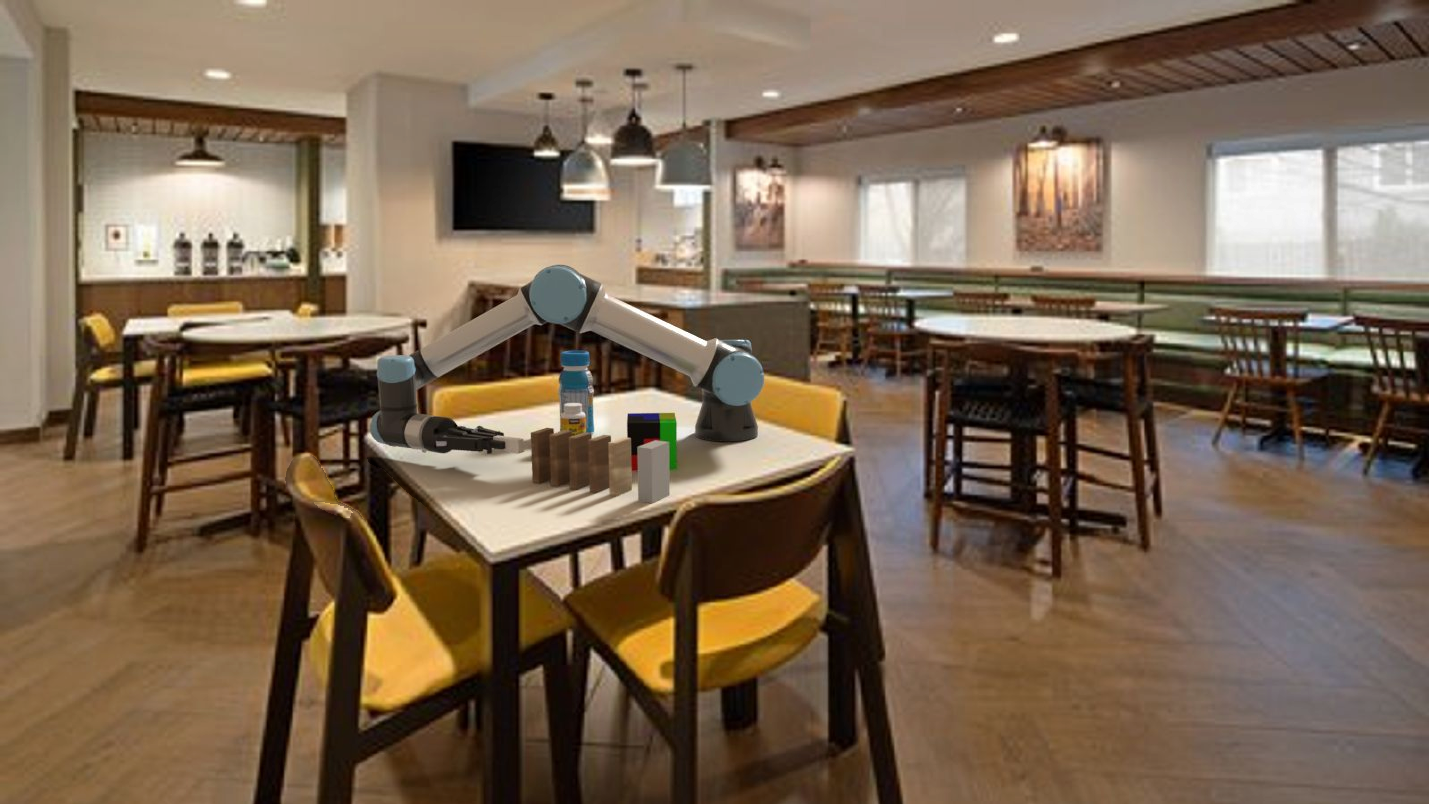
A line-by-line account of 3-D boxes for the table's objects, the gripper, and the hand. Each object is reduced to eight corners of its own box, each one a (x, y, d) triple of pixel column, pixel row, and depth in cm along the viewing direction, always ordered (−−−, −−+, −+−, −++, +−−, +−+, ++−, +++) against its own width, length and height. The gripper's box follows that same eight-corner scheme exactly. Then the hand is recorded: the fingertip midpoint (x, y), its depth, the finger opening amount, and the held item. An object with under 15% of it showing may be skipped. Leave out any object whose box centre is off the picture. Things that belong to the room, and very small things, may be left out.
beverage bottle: (570, 439, 206) (568, 355, 203) (553, 433, 213) (550, 351, 209) (601, 434, 212) (599, 352, 208) (583, 429, 218) (581, 349, 214)
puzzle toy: (628, 459, 189) (627, 413, 187) (674, 458, 190) (674, 412, 188) (627, 471, 179) (627, 423, 177) (676, 470, 180) (676, 422, 178)
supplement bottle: (567, 453, 194) (566, 407, 192) (557, 448, 198) (555, 403, 196) (590, 449, 197) (589, 404, 195) (580, 445, 201) (578, 401, 199)
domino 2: (551, 485, 168) (549, 434, 166) (567, 479, 172) (565, 429, 171) (557, 487, 167) (556, 435, 165) (573, 480, 172) (572, 430, 170)
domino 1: (532, 482, 170) (530, 432, 168) (548, 476, 174) (547, 427, 173) (539, 484, 169) (537, 433, 167) (555, 477, 174) (553, 428, 172)
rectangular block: (638, 501, 158) (637, 446, 156) (655, 492, 164) (655, 440, 162) (652, 503, 157) (651, 448, 155) (669, 494, 162) (669, 442, 160)
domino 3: (570, 489, 166) (568, 437, 164) (585, 482, 170) (584, 432, 168) (577, 490, 165) (575, 438, 163) (592, 483, 170) (591, 433, 168)
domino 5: (609, 495, 162) (608, 442, 160) (624, 488, 166) (623, 437, 164) (616, 496, 161) (615, 443, 159) (631, 489, 165) (631, 438, 164)
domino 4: (589, 492, 164) (588, 439, 162) (605, 485, 168) (603, 434, 166) (596, 493, 163) (595, 440, 161) (612, 486, 167) (610, 435, 166)
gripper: (456, 444, 190) (542, 457, 179) (410, 458, 179) (499, 472, 168) (454, 410, 189) (541, 421, 178) (407, 421, 178) (497, 434, 167)
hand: (520, 446), depth 173 cm, fingers closed
